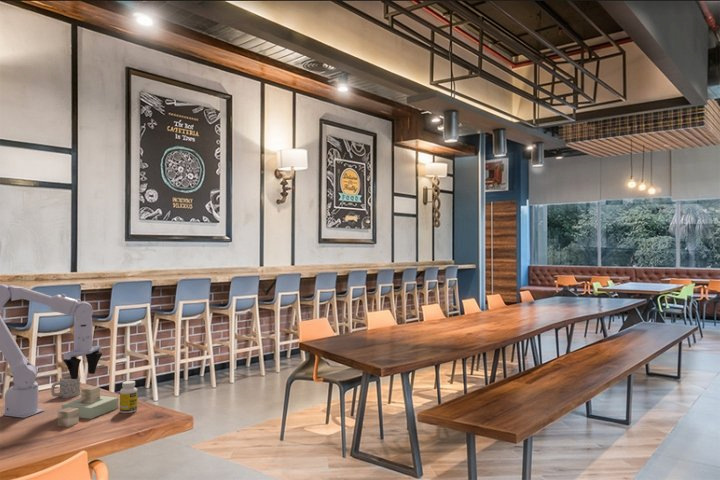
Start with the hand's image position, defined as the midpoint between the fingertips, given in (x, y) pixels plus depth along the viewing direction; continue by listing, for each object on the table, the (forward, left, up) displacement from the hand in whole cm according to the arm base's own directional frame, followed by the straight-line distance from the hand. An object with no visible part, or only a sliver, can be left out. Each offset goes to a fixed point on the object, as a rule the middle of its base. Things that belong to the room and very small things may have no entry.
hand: (83, 376), depth 185 cm
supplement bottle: (+19, 0, -11) cm, 22 cm away
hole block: (+7, -4, -10) cm, 13 cm away
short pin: (+10, -16, -10) cm, 22 cm away
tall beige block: (+7, -4, -10) cm, 13 cm away
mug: (-16, +8, -11) cm, 21 cm away
